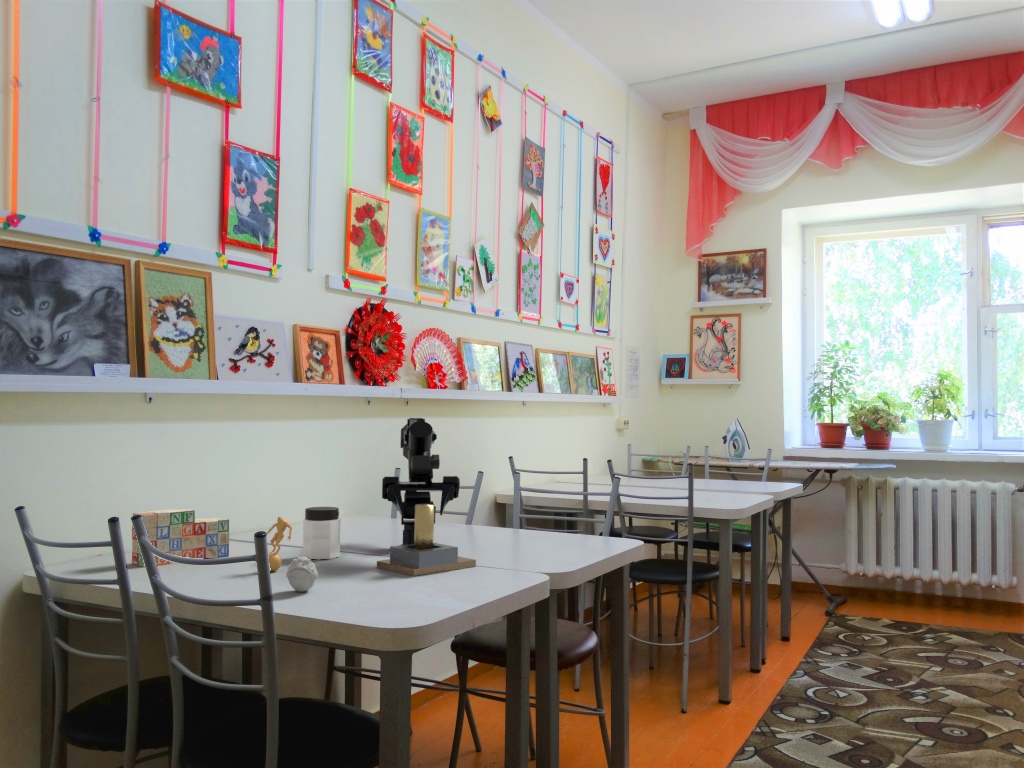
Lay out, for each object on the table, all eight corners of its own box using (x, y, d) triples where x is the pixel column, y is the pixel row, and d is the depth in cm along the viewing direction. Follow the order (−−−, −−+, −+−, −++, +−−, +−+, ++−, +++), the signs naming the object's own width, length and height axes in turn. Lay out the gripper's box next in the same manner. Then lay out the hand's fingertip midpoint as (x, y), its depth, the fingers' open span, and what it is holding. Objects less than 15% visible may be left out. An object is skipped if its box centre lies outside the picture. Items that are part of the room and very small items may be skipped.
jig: (438, 558, 205) (438, 538, 205) (475, 566, 195) (476, 544, 195) (376, 567, 193) (377, 545, 193) (413, 576, 183) (413, 553, 183)
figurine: (252, 570, 188) (253, 517, 189) (274, 566, 193) (275, 514, 194) (277, 574, 184) (278, 519, 184) (298, 570, 189) (299, 517, 189)
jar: (345, 557, 206) (345, 508, 206) (314, 561, 201) (315, 511, 201) (328, 553, 213) (328, 505, 213) (298, 556, 208) (298, 507, 208)
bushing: (419, 559, 194) (420, 503, 195) (436, 561, 193) (437, 504, 193) (410, 563, 190) (411, 505, 191) (428, 564, 189) (429, 506, 189)
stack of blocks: (216, 554, 212) (217, 505, 212) (229, 556, 207) (230, 506, 208) (131, 564, 196) (132, 511, 196) (142, 568, 192) (143, 514, 192)
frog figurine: (282, 595, 163) (282, 559, 163) (290, 588, 170) (291, 553, 170) (313, 595, 163) (314, 559, 163) (320, 588, 170) (321, 553, 170)
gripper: (382, 443, 204) (382, 493, 192) (459, 443, 207) (463, 492, 195) (382, 473, 211) (382, 523, 200) (455, 473, 214) (460, 522, 203)
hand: (421, 514), depth 199 cm, fingers open, 9 cm apart
